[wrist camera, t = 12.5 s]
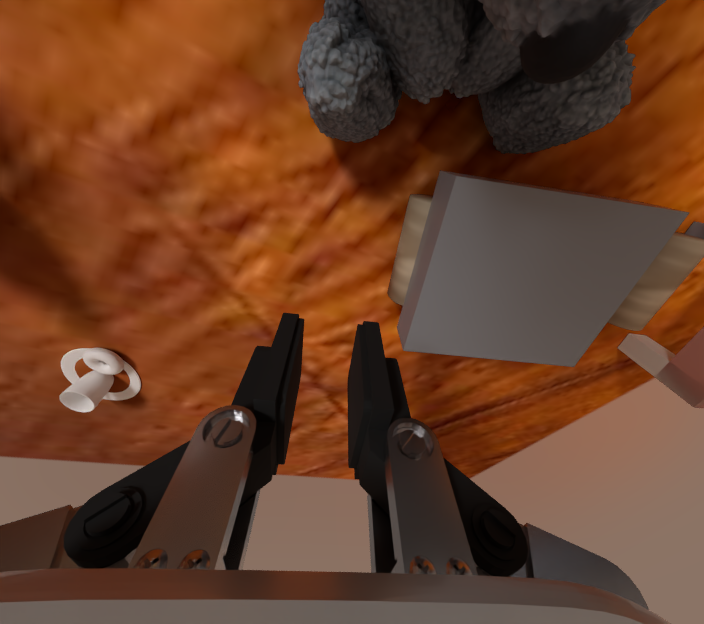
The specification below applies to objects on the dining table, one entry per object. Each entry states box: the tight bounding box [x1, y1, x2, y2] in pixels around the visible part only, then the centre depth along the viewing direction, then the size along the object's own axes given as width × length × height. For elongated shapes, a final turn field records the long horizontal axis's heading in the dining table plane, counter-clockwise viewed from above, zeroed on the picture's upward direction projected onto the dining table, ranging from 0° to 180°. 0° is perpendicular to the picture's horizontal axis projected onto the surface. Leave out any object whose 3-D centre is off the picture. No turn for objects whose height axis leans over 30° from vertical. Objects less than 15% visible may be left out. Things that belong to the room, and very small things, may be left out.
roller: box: [608, 232, 704, 331], centre depth 24 cm, size 8×4×4 cm, turn 172°
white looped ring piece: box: [60, 348, 141, 412], centre depth 30 cm, size 9×8×4 cm
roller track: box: [387, 194, 704, 306], centre depth 23 cm, size 10×25×4 cm, turn 82°
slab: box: [397, 170, 689, 367], centre depth 20 cm, size 12×14×3 cm
